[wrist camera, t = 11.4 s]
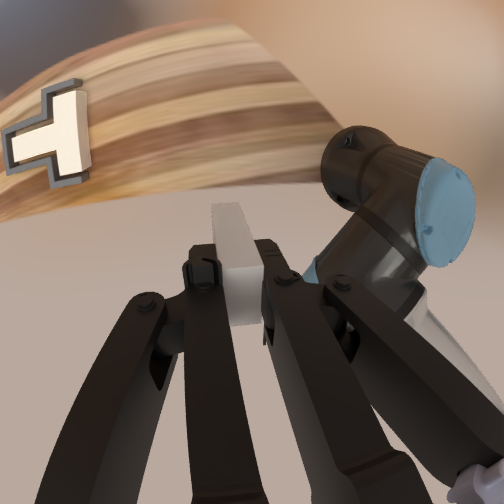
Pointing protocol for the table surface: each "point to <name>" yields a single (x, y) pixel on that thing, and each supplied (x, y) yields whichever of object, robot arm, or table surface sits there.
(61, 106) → the t block
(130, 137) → the table surface
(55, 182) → the t bay
